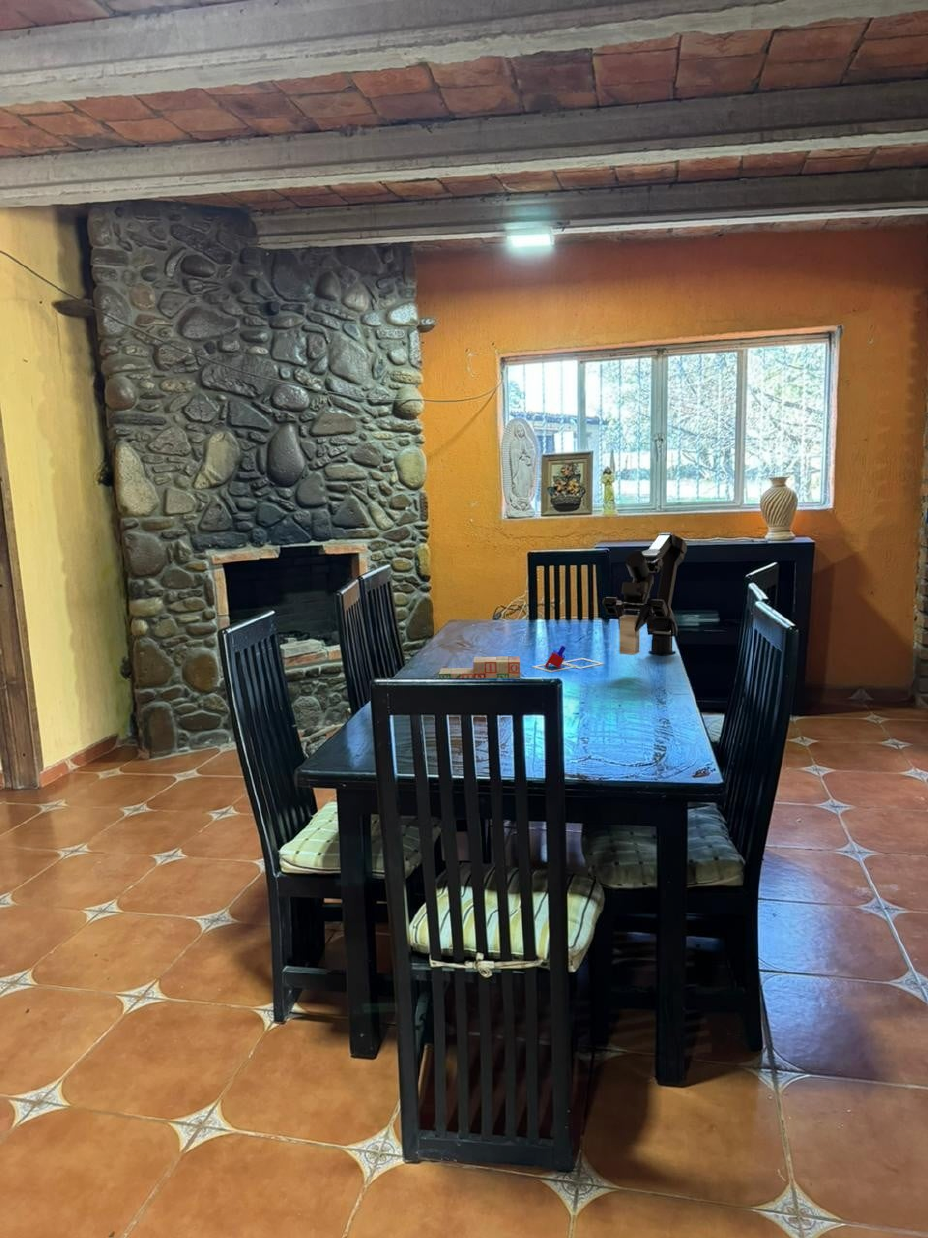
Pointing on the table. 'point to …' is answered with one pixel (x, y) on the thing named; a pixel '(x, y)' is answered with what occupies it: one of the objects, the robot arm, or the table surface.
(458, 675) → the stack of blocks
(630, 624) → the beech pillar
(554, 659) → the toy building block
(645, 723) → the table surface
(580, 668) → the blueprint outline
